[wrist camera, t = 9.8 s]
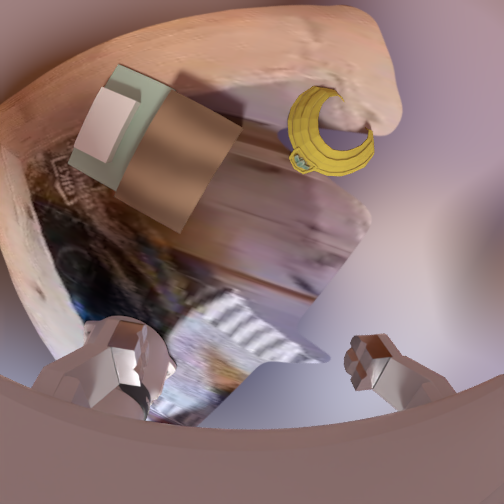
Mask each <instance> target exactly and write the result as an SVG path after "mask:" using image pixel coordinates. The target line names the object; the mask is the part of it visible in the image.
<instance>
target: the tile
mask: <svg viewBox="0 0 504 504" xmlns="http://www.w3.org/2000/svg"><path fill="white" fill-rule="evenodd" d="M140 104H141V103H139V102H137V101H135V100H133V99H130V98H128V97H126V96H123V95H121V94H118V93H116V92H114V91H111V90H109V89H106V88H104V87H101V89H100V91H99V92H98V94H97V96H96V98H95V100H94V102H93V104H92V106H91V108H90V110H89V112H88V114H87V116H86V119H85V121H84V123H83V125H82V127H81V130H80V132H79V134H78V137H77V139H76V141H75V144H74V146H73V147H75V148H77V149H79V150H81V151H83V152H85V153H87V154H89V155H90V156H92V157H94V158H96V159H98V160H100V161H102V162H104V163H110V162H112V160H113V157H114V155H115V153H116V151H117V149H118V147H119V144H120V142H121V140H122V138H123V136H124V134H125V132H126V130H127V128H128V126H129V124H130V122H131V120H132V119H133V117H134V115H135V113H136V111H137V109H138V107H139V106H140Z"/></svg>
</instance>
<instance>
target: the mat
mask: <svg viewBox="0 0 504 504" xmlns="http://www.w3.org/2000/svg"><path fill="white" fill-rule="evenodd" d="M104 88H106V89H109V90H111V91H114V92H116V93H118V94H121V95H123V96H126V97H128V98H130V99H133V100H135V101H137V102H139V103H141V104H140V106H139V107H138V109H137V111H136V113H135V115H134V117H133V119H132V120H131V122H130V124H129V126H128V128H127V130H126V132H125V134H124V136H123V138H122V140H121V142H120V144H119V147H118V149H117V151H116V153H115V155H114V157H113V160H112V162H110V163H104V162H102V161H100V160H98V159H96V158H94V157H92V156H90V155H89V154H87V153H85V152H83V151H81V150H79V149H77V148H75V147H74V149H73V152H72V154H71V157H70V159H69V162H68V164H69V165H71V166H72V167H74V168H76V169H78V170H79V171H81V172H83V173H85V174H86V175H88V176H90V177H92V178H93V179H95V180H97V181H99V182H100V183H102V184H104V185H106V186H107V187H109V188H111V189H113V190H114V191H116V190H117V188H118V186H119V183H120V181H121V179H122V177H123V175H124V173H125V171H126V169H127V167H128V165H129V163H130V161H131V159H132V157H133V155H134V153H135V151H136V149H137V147H138V145H139V143H140V141H141V140H142V138H143V136H144V134H145V132H146V130H147V129H148V127H149V125H150V123H151V122H152V120H153V118H154V117H155V115H156V113H157V112H158V110H159V108H160V107H161V105H162V103H163V102H164V100H165V99H166V97H167V96H168V94H169V92H170V91H171V89H172V88H170V87H168V86H166V85H164V84H162V83H160V82H158V81H156V80H153V79H151V78H149V77H147V76H145V75H142V74H140V73H138V72H135V71H133V70H131V69H128V68H126V67H123V66H121V65H119V64H118V66H117V67H116V69H115V70H114V72H113V74H112V75H111V77H110V79H109V80H108V82H107V84H106V85H105V87H104ZM172 90H174V89H172ZM174 91H176V90H174Z"/></svg>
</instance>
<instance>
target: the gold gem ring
mask: <svg viewBox="0 0 504 504" xmlns="http://www.w3.org/2000/svg"><path fill="white" fill-rule="evenodd" d="M332 96H339V97H341V96H340V95H338V93H337V92H336V91H335V90H334V89H329V88H323V87H316V86H312V87H311V88H310V89H308V90H306V91H305V92H303V93H302V94H301V95H299V97H298V98H297V99H296V101H295V103H294V104H293V106H292V107H291V110H290V114H289V118H288V132H289V138H290V141H291V144H292V146H293V149H294V150H293V152H292V153H291V155H290V156H289V159H290V161H291V163H292V165H293V167H294V169H296V170H297V171H299V172H300V173H302V174H305V173H308V172H312V171H317V172H319V173H321V174H324V175H327V176H343V175H347V174H350V173H353V172H355V171H357V170H359V169H361V168H364V167H365V166H366V165H367V163H368V162H369V160H370V159H371V158H372V156H373V155H374V140H373V132H372V131H371V130H369V129H367V128H366V127H365V129H367V130H368V137H367V139H366V140H365V141H364V142H363V143H362V144H361V145H360V146H358V147H356V148H354V149H350V150H347V151H339V150H334V149H332V148H331V147H329V146H328V145H327V144H326V143H325V142H324V141H323V139H322V138H321V136H320V133H319V129H318V117H319V112H320V109H321V106H322V104H323V103H324V102H325V101H326V100H327V99H328V98H329V97H332ZM341 99H342V100H343V98H342V97H341ZM343 101H344V100H343ZM291 159H292V160H291Z"/></svg>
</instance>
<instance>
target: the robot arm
mask: <svg viewBox="0 0 504 504" xmlns="http://www.w3.org/2000/svg"><path fill="white" fill-rule="evenodd" d="M350 344H351V348H350V349H349V350H348V351H347V352H346V354H345V357H344V367H345V370H346V372H347V373H348V374H350V375H351V376H352V377H351V382H352V384H353V386H354V388H355V390H356V391H360V390H369V389H373V391H374V392H376V393H377V394H378V395H379V396H380V397H382V398H383V399H384V400H385V401H386V402H388V403H389V404H390V405H391V406H392V407H394V408H395V409H396V410H398V412H394V413H390V414H386V415H381V416H376V417H372V418H366V419H361V420H355V421H349V422H343V423H337V424H329V425H321V426H311V427H301V428H300V427H299V428H284V429H216V428H201V427H189V426H180V425H172V424H164V423H157V422H151V421H145V420H146V418H147V415H148V413H149V410H150V405H151V404H152V403H153V400H154V399H155V400H156V399H157V398H158V396H160V395H161V393H162V389H163V386H164V382H165V380H166V379H167V378H169V377H170V376H171V375H172V374H173V373H174V372H175V371H176V368H177V366H176V364H175V363H174V361H173V360H172V359H171V358H170V357H169V354H168V351H167V347H166V345H165V343H164V341H163V339H162V338H161V337H160V335H159V334H158V333H157V332H156V331H155V330H154V329H152V328H151V327H150V326H148V325H147V324H145V323H143V322H141V321H139V320H137V319H134V318H131V317H127V316H111V317H107V318H105V319H103V320H100V321H86V323H85V325H84V346H83V347H81V348H79V349H77V350H76V351H74V352H72V353H70V354H68V355H66V356H64V357H62V358H60V359H58V360H56V361H54V362H53V363H50V364H49V365H47V366H45V367H43V369H42V371H41V372H40V374H39V376H38V377H37V379H36V381H35V382H34V384H33V386H32V388H29V387H26V386H24V385H22V384H19V383H17V382H15V381H13V380H11V379H8V378H6V377H4V376H2V375H0V504H504V374H502V375H498V376H496V377H494V378H492V379H490V380H488V381H486V382H483V383H481V384H479V385H476V386H474V387H472V388H469V389H467V390H464V391H462V392H459V393H456V392H455V390H454V389H453V388H452V387H451V385H450V384H449V383H448V381H447V380H446V378H445V377H443V376H441V375H439V374H438V373H436V372H434V371H432V370H430V369H428V368H427V367H425V366H423V365H421V364H419V363H418V362H416V361H414V360H412V359H410V358H408V357H407V356H402V355H401V353H400V352H399V350H398V349H397V348H396V346H395V345H394V344H393V342H392V341H391V340H390V338H389V337H388V336H387V335H386V334H375V335H356V336H354V337H353V338H352V340H351V342H350Z"/></svg>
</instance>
